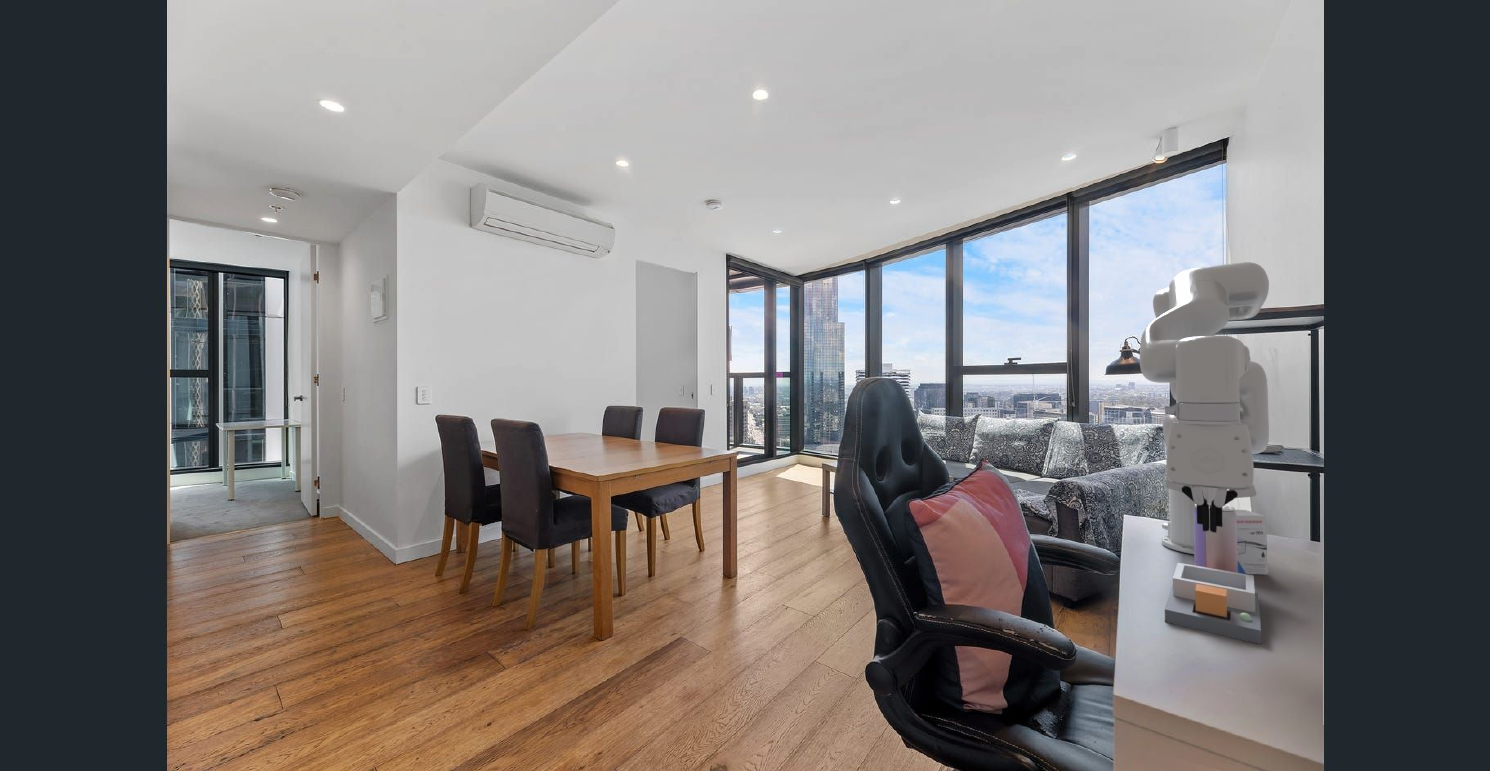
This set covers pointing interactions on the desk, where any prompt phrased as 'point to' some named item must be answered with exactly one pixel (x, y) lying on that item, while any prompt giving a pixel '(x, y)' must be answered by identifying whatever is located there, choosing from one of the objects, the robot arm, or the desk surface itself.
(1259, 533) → the ink box
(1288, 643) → the desk surface
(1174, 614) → the panel
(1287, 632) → the desk surface
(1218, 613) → the button
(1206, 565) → the beverage can
